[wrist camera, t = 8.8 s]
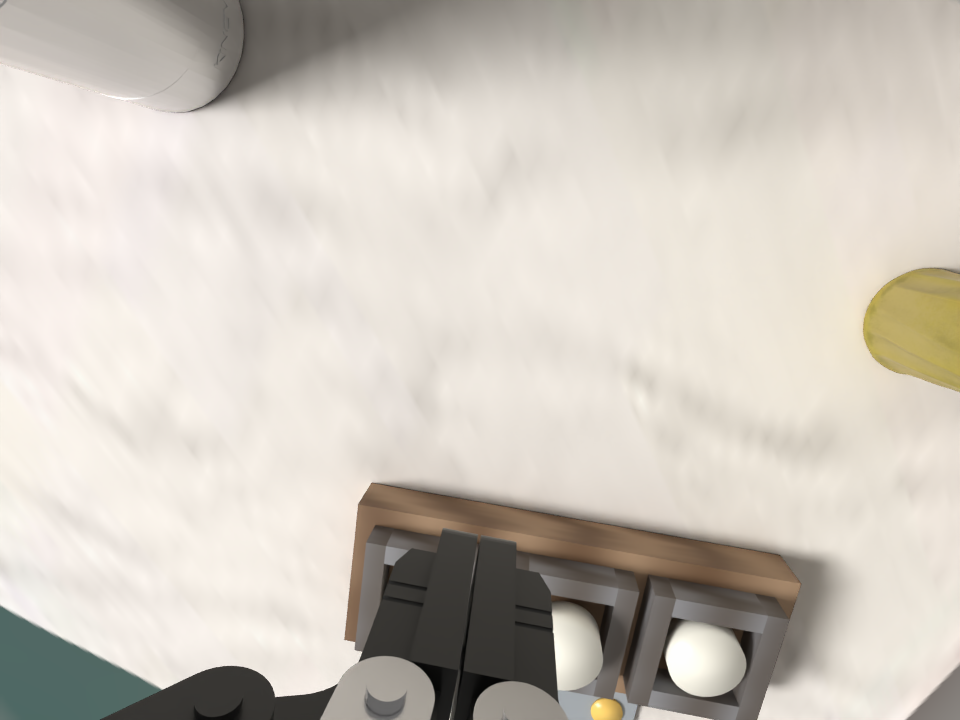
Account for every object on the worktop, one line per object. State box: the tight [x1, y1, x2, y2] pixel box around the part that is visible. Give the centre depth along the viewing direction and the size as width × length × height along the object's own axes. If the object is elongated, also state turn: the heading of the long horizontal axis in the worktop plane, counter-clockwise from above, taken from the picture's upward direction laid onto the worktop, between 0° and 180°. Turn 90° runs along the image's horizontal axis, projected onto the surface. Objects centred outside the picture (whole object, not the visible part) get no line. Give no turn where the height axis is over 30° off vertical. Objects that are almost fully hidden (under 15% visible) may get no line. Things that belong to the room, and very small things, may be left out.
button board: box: [344, 483, 801, 720], centre depth 37 cm, size 27×10×5 cm, turn 82°
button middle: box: [552, 601, 603, 691], centre depth 33 cm, size 4×4×2 cm
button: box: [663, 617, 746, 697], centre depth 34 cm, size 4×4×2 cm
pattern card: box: [451, 690, 638, 720], centre depth 41 cm, size 14×5×1 cm, turn 82°
